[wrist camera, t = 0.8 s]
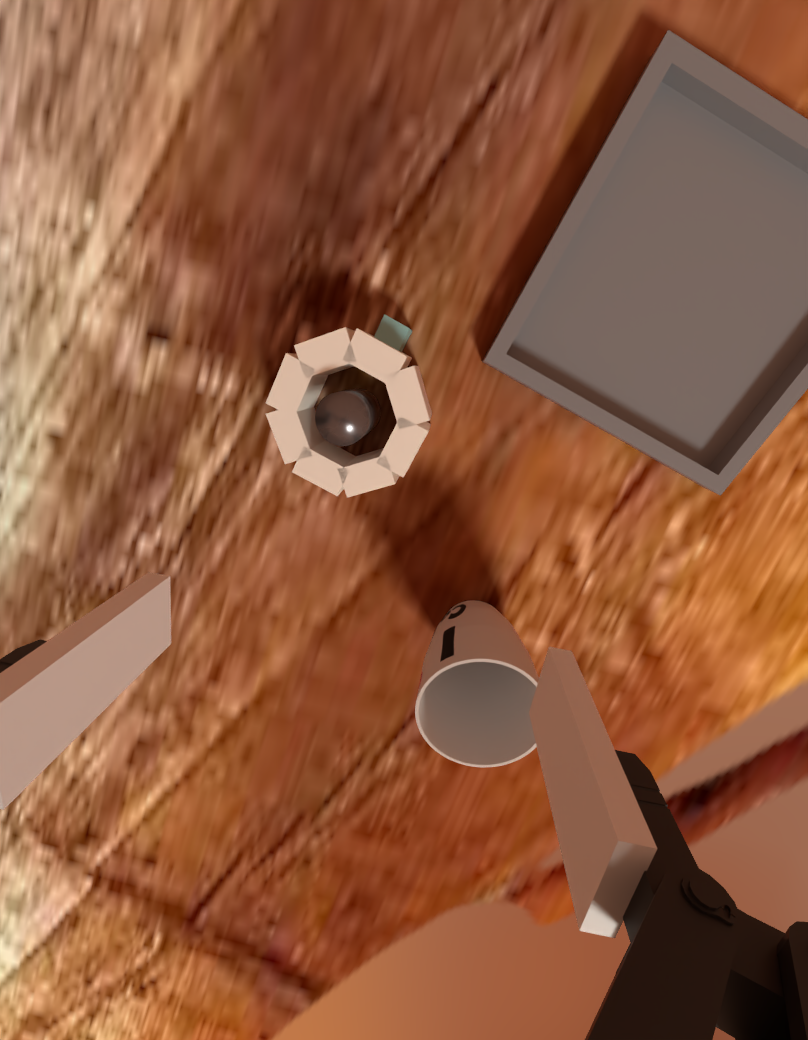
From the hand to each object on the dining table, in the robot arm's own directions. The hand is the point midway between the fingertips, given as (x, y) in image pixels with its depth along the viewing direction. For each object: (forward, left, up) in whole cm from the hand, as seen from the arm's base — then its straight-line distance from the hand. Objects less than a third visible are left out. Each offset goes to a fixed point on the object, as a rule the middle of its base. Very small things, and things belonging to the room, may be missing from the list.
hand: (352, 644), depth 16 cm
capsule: (-6, +4, -20) cm, 21 cm away
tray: (+9, +20, -20) cm, 29 cm away
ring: (-6, +4, -20) cm, 21 cm away
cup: (+10, -7, -20) cm, 24 cm away
